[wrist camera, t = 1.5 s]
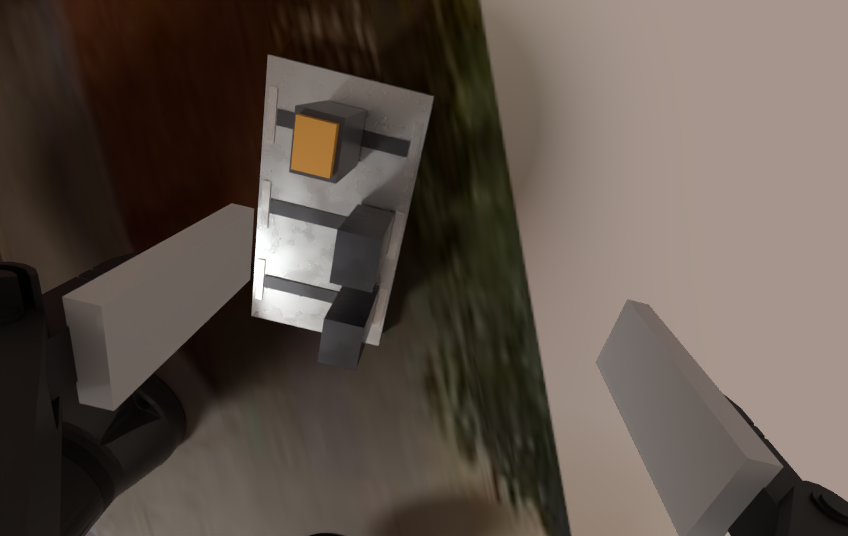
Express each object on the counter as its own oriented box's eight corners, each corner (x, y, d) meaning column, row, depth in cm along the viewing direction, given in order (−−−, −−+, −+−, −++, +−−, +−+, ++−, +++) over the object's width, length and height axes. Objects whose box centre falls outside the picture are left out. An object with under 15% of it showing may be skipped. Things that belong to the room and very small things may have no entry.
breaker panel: (260, 305, 40) (214, 358, 33) (278, 55, 31) (219, 48, 23) (382, 333, 41) (364, 393, 33) (435, 95, 32) (428, 101, 24)
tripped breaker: (318, 155, 32) (285, 174, 26) (325, 100, 30) (291, 105, 24) (357, 165, 32) (333, 186, 26) (366, 110, 30) (342, 118, 24)
